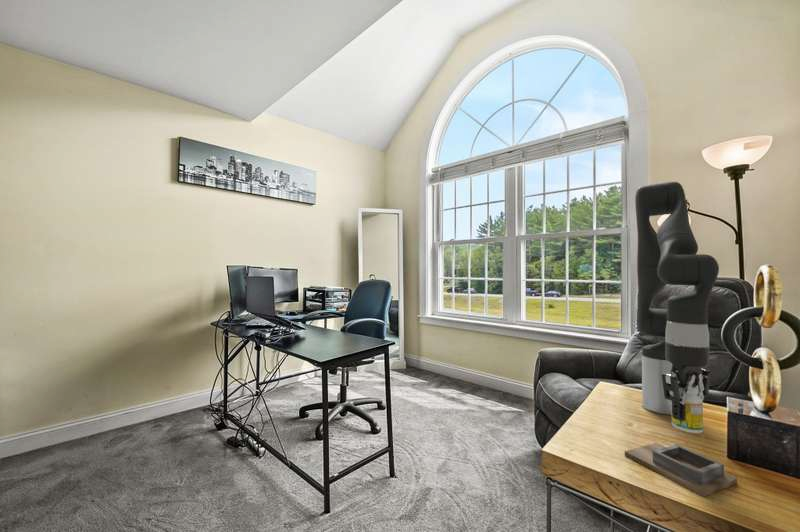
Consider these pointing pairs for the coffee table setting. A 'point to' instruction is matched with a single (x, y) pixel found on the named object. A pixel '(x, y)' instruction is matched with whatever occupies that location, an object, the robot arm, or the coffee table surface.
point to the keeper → (684, 467)
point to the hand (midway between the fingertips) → (686, 417)
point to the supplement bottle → (691, 413)
